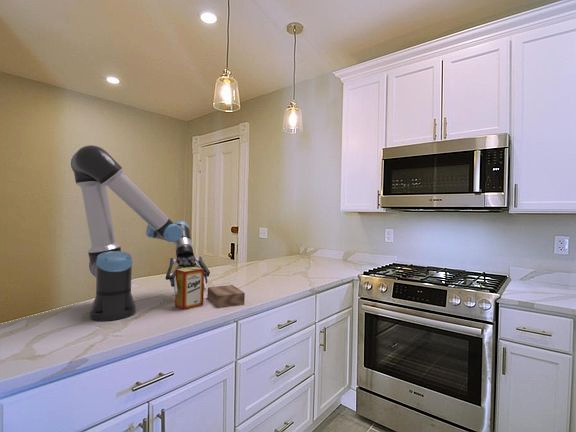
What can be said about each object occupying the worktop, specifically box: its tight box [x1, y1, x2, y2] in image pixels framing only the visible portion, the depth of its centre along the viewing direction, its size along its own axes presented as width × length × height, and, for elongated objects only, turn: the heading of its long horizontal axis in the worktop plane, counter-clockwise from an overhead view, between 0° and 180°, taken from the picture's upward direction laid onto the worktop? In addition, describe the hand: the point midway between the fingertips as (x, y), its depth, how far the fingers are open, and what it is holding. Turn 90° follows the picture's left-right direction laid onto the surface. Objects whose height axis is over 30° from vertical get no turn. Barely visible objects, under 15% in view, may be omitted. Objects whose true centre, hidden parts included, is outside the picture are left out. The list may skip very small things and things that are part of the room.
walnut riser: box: [206, 284, 246, 309], centre depth 137 cm, size 12×16×5 cm
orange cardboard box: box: [174, 267, 205, 311], centre depth 129 cm, size 10×6×16 cm
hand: (191, 291), depth 127 cm, fingers closed on orange cardboard box, 11 cm apart
